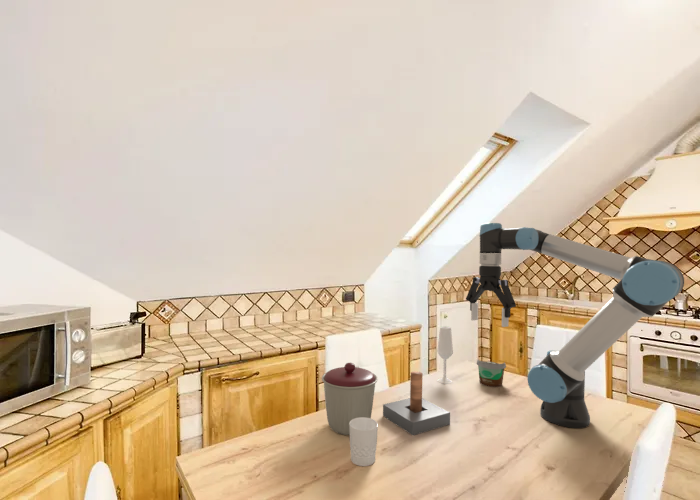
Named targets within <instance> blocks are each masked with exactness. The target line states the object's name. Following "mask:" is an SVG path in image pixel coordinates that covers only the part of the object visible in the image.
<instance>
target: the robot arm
mask: <svg viewBox="0 0 700 500" xmlns="http://www.w3.org/2000/svg"><path fill="white" fill-rule="evenodd" d="M479 228H480V229H479V235H478V236H479V262H478V263H479V267H478V268H479V269H478V272H479V273H478V274H479V276H480V277H479V276H477V277H476V276H475V277H473V278H472V284H471V285H470V288H469V290H468V293H467V295H466V298H465V300H466V301H468V302H469V304H470V307H469V308H470V309H469V311H470V314H471V315H470V316H471V317H470V320H471V321H478V319H479V317H478V316H479V302H478V300H479V299H480V298H481V296H482V295H483V294H484V292H486V291H489V292H493V293H495V295H496V297H497V299H498V300H499V301H500V303H501V305H502V306H503V307H502V308H501V327H502V328H505V327H509V324H510V323H509V319H510V317H511V308H515V307H517V304H516V302H515V299H514V297H513V293H512V291H511V289H510V287H509V286H510V285H509V280H508V279H501V277H502V267H501V266H500V265H502V250H523V251H527V250H528V251H532V252H535V253H538V254H542V255H545V256H548V257H551V258H554V259H557V260H560V261H563V262H566V263H569V264H571V265H574V266H577V267H581V268H584V269H587V270H588V271H589V270H590V271H593V272H596V273H599V274H601V275H603V276H608V277H610V278H613V279H616V280H619V282H618V283H617V284H616V285H614V286H613V288H612V289H611V290H612V297H611V298H610V299H609V300H608V301H607V302H606V303H605V304H604V305H603V306H602V307H601V308H600V309H599V310H598V311H597V312H596V313H595V314H594V315H593V316H592V317H591V318H590V319H589V320H588V321H587V322H586V323H585V324H584V326H583V327H581V328H580V329H579V330H578V332H576V333H575V335H573V336H572V337H571V339H569V341H567V343H565V345H564V346H563V347H561V349H560V350H553V349H552V350H548V351H547V352H546V356H544V358H543V359H542V360H541V361H540V362H539V363H538V364H537V365H534V366H533V367H532V368H531V369H530V370H529V372H528V374H527V377H526V378H527V384H528V388H529V389H530V391H531V392H532V394H533V395H534V396H535V397H537V398H538V399H539V400H541V401H542V403H541V405H540V412H539V413H540V417H542V418H543V419H544V420H546V421H548V422H550V423H551V424H555V425H558V426H561V427H564V428H565V427H566V428H572V429H583V428H588V427H590V424H591V417H590V413H589V410H588V407H587V404H586V401H585V391H586V390H585V387H586V385H585V384H586V380H585V379H586V370H587V369H588V368H590V367H591V366H592V364H594V363H595V362H596V361H597V360H598V359H599V358H600V357H601V356H603V354H605V353H606V352H607V351H608V350H609V349H610V348H611V347H612V346H613V345H614V344H615V343H616V342H617V341H618V340H619V339H621V338H622V336H623V335H625V334H626V333H627V332H628V331H629V330H630V329H631V328H632V327H633V326H635V325H636V324H637V322H639V321H640V320H641V319H642V318H646V317H647V318H649V317H650V318H651V317H654V316H655V315H656V313H658V312H659V311H660V310H661V309H662V308H663V307H664V306H665V305H666V304H668V303H669V302H670V301H671V300H673V299H674V298H675V297H677V296H678V295H679V294H680V293H681V292H682V291H683V289H684V286H685V277H684V274H683V272H682V271H681V270H680V269H679V268H678V267H677V266H676V265H675V264H673V263H670V262H668V261H664V260H658V259H657V260H655V259H649V258H644V257H641V256H638V255H634V256H631V257H630V256H626V255H623V254H620V253H615V252H612V251H608V250H605V249H602V248H599V247H595V246H591V245H588V244H585V243H581V242H578V241H575V240H571V239H568V238H565V237H562V236H561V237H560V236H557V235H554V234H549V233H547V232H544V231H542V230H539V229H536V228H534V227H526V226H525V227H510V228H508V227H507V228H505V227H503V225H502V223H501V222H500V223H499V222H485V223H484V222H483V223H481V224H480V227H479Z"/></svg>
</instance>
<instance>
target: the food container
mask: <svg viewBox="0 0 700 500" xmlns="http://www.w3.org/2000/svg"><path fill="white" fill-rule="evenodd" d="M476 365H477V367H478V377H479V383H480V384H481V385H483V386H485V387H489V388H500V387H502V386H503V380H504V373H505V369H506V368H507V365H506V362H503V363H498V362H494V361H485V360H479V359H477V360H476Z"/></svg>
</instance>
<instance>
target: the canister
mask: <svg viewBox="0 0 700 500" xmlns="http://www.w3.org/2000/svg"><path fill="white" fill-rule="evenodd" d="M378 380H379V379H378V376H377V375H376V374H375V373H373V372H372V371H370V370H368V369H366V368H362V367H358V366H356V365H355V364H354V363H353V362H346V363H345V365H344V366H342V367H336V368H332V369H330V370H328V371H327V372H325V373H323V374H322V375H321V381H322V382H323V387H324V390H323V391H324V399H325V401H324V402H325V411H326V418H327V423H328V426H329V428H330V430H332V431H333V432H334V433H336V434H339V435H344V436H350V430H349V423H350V421H351V420H352V419H355V418H360V417H366V418H371V419H372V414H373V413H372V412H373V411H372V410H373V406H374V405H373V404H374V397H375V389H376V383H377V382H378Z"/></svg>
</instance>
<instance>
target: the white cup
mask: <svg viewBox="0 0 700 500" xmlns="http://www.w3.org/2000/svg"><path fill="white" fill-rule="evenodd" d="M378 427H379V424H378V421H376V420H375V419H374V418H372V417H371V418H366V417H360V418H355V419H352V420H351V421H350V423H349V430H350V435H349V447H350V448H349V449H350V462H352V464H354V465H356V466H358V467H359V466H360V467H368V466H372V465H373V464H374V463H375V462H376V451H377V445H378V443H377V442H378Z"/></svg>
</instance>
